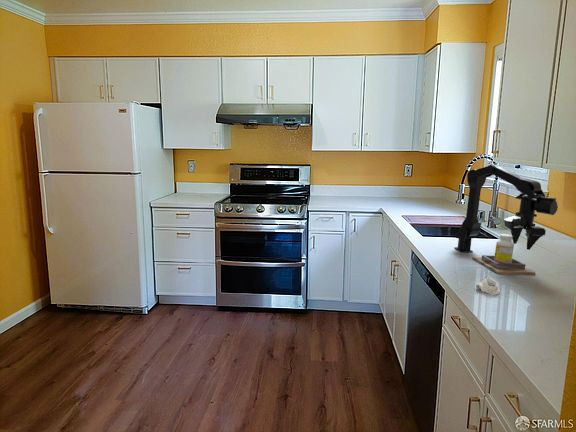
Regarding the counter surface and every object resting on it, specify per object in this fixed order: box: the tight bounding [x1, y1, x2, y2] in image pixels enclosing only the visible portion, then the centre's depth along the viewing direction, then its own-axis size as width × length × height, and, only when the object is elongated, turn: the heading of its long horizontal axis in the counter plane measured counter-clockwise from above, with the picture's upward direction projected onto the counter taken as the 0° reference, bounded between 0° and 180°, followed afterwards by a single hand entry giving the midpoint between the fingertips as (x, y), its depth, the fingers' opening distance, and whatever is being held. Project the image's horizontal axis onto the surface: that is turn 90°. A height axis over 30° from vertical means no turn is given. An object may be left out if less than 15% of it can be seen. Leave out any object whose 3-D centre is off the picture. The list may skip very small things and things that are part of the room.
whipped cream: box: [476, 277, 500, 295], centre depth 142 cm, size 8×7×5 cm
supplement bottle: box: [494, 233, 515, 264], centre depth 170 cm, size 7×7×13 cm
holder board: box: [472, 254, 537, 276], centre depth 171 cm, size 20×16×3 cm
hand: (521, 246), depth 170 cm, fingers open, 9 cm apart
